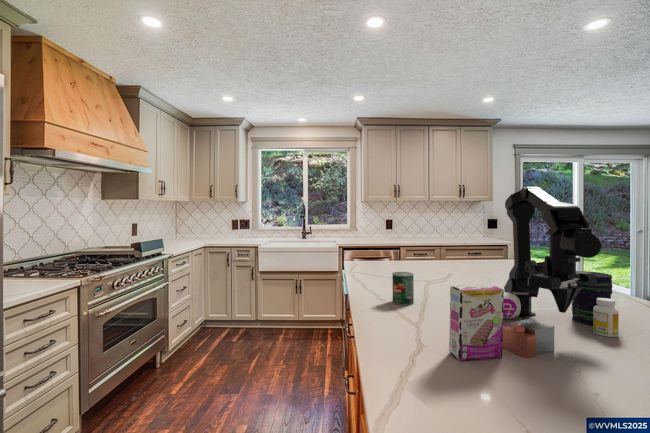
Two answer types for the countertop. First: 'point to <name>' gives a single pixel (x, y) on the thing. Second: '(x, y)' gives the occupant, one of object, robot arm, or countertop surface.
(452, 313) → the candy bar box
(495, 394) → the countertop surface
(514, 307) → the supplement can
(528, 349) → the coupler rail
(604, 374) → the countertop surface
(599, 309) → the supplement bottle
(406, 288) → the canned tomato
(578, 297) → the storage jar
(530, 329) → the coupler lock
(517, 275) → the robot arm
